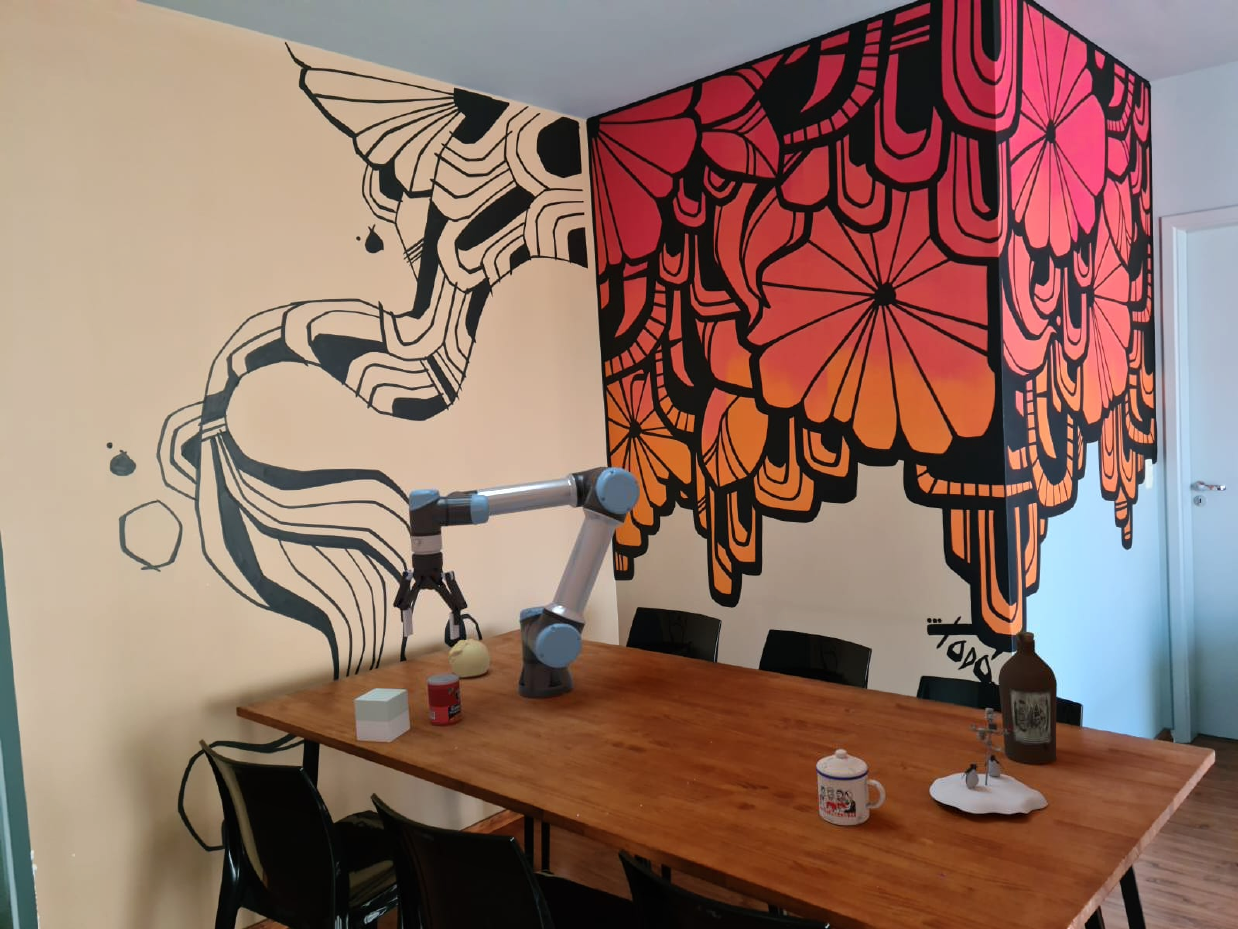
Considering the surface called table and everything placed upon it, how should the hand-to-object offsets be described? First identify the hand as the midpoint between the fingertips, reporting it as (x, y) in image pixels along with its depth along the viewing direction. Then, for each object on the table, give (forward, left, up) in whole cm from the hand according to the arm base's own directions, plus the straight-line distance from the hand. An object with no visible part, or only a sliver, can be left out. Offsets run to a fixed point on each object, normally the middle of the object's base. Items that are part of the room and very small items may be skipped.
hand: (431, 636), depth 217 cm
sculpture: (+12, -40, -22) cm, 47 cm away
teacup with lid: (-102, +34, -22) cm, 110 cm away
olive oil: (-135, +1, -22) cm, 137 cm away
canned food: (-1, -2, -22) cm, 22 cm away
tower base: (+10, +9, -22) cm, 26 cm away
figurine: (-125, +23, -23) cm, 129 cm away
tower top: (+10, +9, -17) cm, 22 cm away
